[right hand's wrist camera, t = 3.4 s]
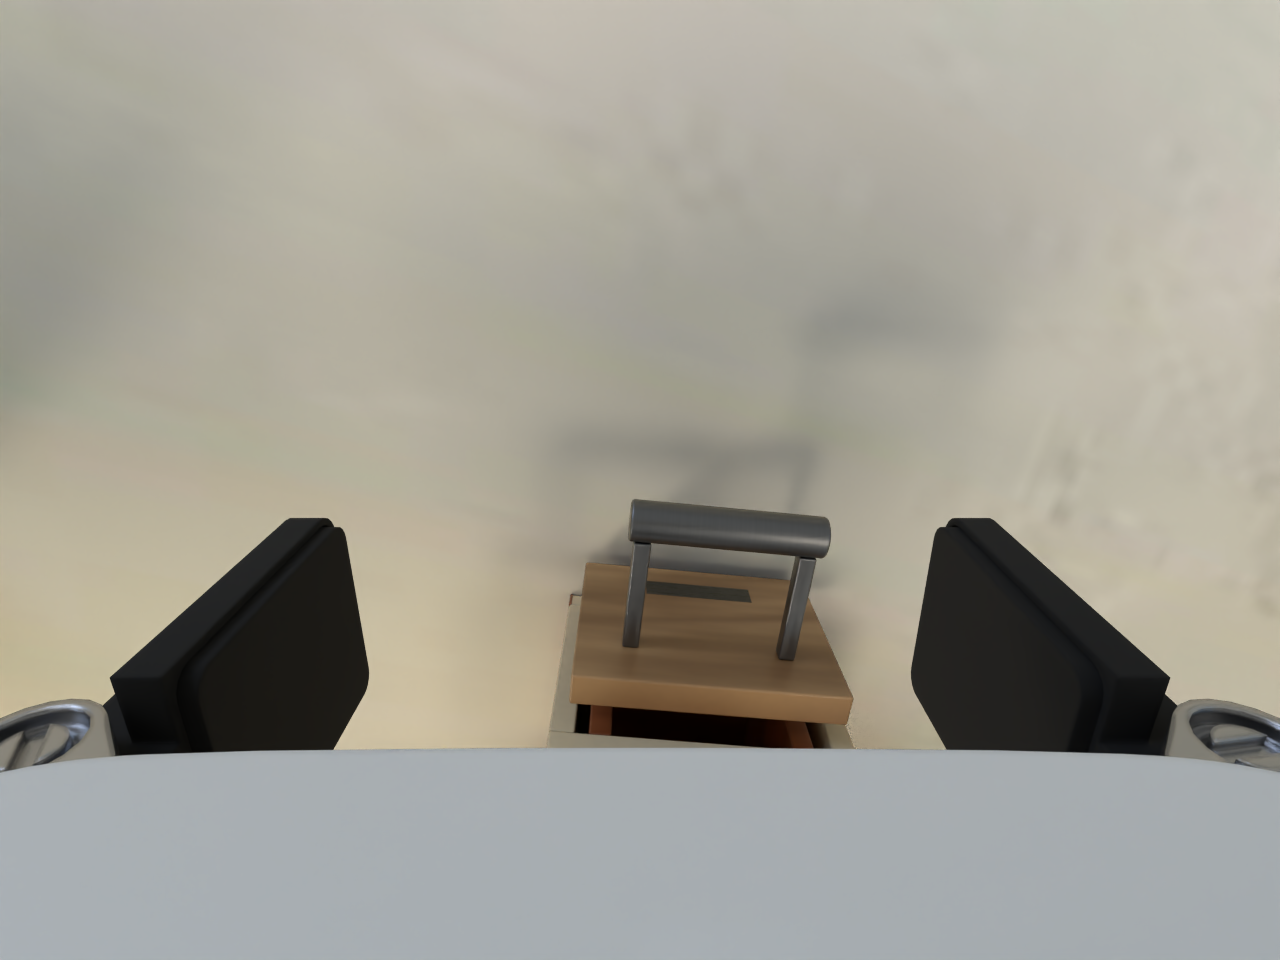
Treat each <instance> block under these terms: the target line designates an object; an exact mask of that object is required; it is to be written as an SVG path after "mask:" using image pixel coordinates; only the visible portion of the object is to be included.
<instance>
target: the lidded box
mask: <svg viewBox="0 0 1280 960" xmlns="http://www.w3.org/2000/svg"><path fill="white" fill-rule="evenodd" d="M581 598H582V596H574V595H572V594H571V595H570V602H569V610H568V616H567V622H566V628H565V634H564V641H563V647H562V653H561V659H560V665H559V672H558V678H557V684H556V690H555V696H554V703H553V709H552V715H551V721H550V727H549V734H548V740H547V746H546V748H761V747H749V746H736V745H723V744H710V743H697V742H684V741H671V740H658V739H645V738H632V737H619V736H606V735H593V734H587V733H588V722H589V712H590V705H585V704H572V703H570V702H569V695H570V683H571V673H572V665H573V658H574V650H575V643H576V635H577V628H578V620H579V613H580V605H581ZM805 724H806V727H807V730H808V733H809V736H810V739H811V742H812V745H813V748H814V749H855V748H854V746H853V744H852V741H851V739H850V736H849V734H848V731H847V729H846V726H845V725H838V724H825V723H813V722H805Z"/></svg>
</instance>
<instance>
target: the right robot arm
mask: <svg viewBox="0 0 1280 960" xmlns="http://www.w3.org/2000/svg"><path fill="white" fill-rule="evenodd" d="M110 680H111V683H112V686H113V689H114V692H115V695H114V696H113V697H111V698H110V699H109V700H108V701H107V702H106V703H105V704H104V705H103V706H102V705H101V704H98V703H96V702H93V701H91V700H83V699H66V700H59V701H51V702H47V703H43V704H39V705H36V706H32V707H28V708H25V709H22V710H20V711H17V712H15V713H12V714H10V715H7V716H5V717H2V718H0V960H1280V718H1278V717H1275V716H1273V715H1270V714H1268V713H1265V712H1263V711H1260V710H1258V709H1255V708H1252V707H1248V706H1244V705H1241V704H1237V703H1233V702H1229V701H1221V700H1214V699H1197V700H1189V701H1187V702H1184V703H1182V704H1179V705H1178V706H1177V705H1176V704H1175V703H1174V702H1173V701H1172V700H1171V699H1170V698H1169V697H1167V696H1166V695H1165V692H1166V689H1167V686H1168V683H1169V680H1170V677H1169V676H1168V675H1167V674H1166V673H1164V672H1163V671H1162V670H1161V669H1160V668H1159V667H1158V666H1157V665H1155V664H1154V663H1153V662H1152V661H1151V660H1150V659H1149V658H1148V657H1146V656H1145V655H1144V654H1143V653H1142V652H1141V651H1140V650H1139V649H1138V648H1136V647H1135V646H1134V645H1133V644H1132V643H1131V642H1130V641H1129V640H1127V639H1126V638H1125V637H1124V636H1123V635H1122V634H1121V633H1120V632H1118V631H1117V630H1116V629H1115V628H1114V627H1113V626H1112V625H1111V624H1110V623H1108V622H1107V621H1106V620H1105V619H1104V618H1103V617H1102V616H1101V615H1099V614H1098V613H1097V612H1096V611H1095V610H1094V609H1093V608H1092V607H1091V606H1089V605H1088V604H1087V603H1086V602H1085V601H1084V600H1083V599H1082V598H1080V597H1079V596H1078V595H1077V594H1076V593H1075V592H1074V591H1073V590H1071V589H1070V588H1069V587H1068V586H1067V585H1066V584H1065V583H1064V582H1063V581H1061V580H1060V579H1059V578H1058V577H1057V576H1056V575H1055V574H1054V573H1052V572H1051V571H1050V570H1049V569H1048V568H1047V567H1046V566H1045V565H1043V564H1042V563H1041V562H1040V561H1039V560H1038V559H1037V558H1036V557H1035V556H1033V555H1032V554H1031V553H1030V552H1029V551H1028V550H1027V549H1026V548H1024V547H1023V546H1022V545H1021V544H1020V543H1019V542H1018V541H1017V540H1015V539H1014V538H1013V537H1012V536H1011V535H1010V534H1009V533H1008V532H1007V531H1005V530H1004V529H1003V528H1002V527H1001V526H1000V525H999V524H998V523H996V522H995V521H994V520H992V519H991V518H952V519H951V520H950V521H949V522H948V524H947V525H946V527H940V528H938V529H937V531H936V533H935V536H934V541H933V547H932V553H931V558H930V564H929V570H928V576H927V581H926V587H925V593H924V598H923V604H922V610H921V616H920V621H919V627H918V633H917V639H916V644H915V650H914V656H913V662H912V667H911V680H912V686H913V689H914V692H915V694H916V696H917V698H918V699H919V701H920V703H921V705H922V706H923V708H924V710H925V712H926V714H927V715H928V717H929V719H930V721H931V722H932V724H933V726H934V728H935V730H936V731H937V733H938V735H939V737H940V738H941V740H942V742H943V744H944V746H945V747H946V749H947V750H903V749H789V748H468V749H378V750H333V749H334V747H335V746H336V744H337V742H338V740H339V738H340V737H341V735H342V733H343V731H344V730H345V728H346V726H347V724H348V722H349V721H350V719H351V717H352V715H353V714H354V712H355V710H356V708H357V706H358V705H359V703H360V701H361V699H362V698H363V696H364V694H365V692H366V689H367V686H368V680H369V667H368V662H367V656H366V650H365V644H364V639H363V633H362V627H361V621H360V616H359V610H358V604H357V598H356V593H355V587H354V581H353V576H352V570H351V564H350V558H349V553H348V547H347V541H346V536H345V533H344V531H343V529H342V528H340V527H334V525H333V524H332V522H331V521H330V520H329V519H328V518H289V519H288V520H286V521H285V522H284V523H282V524H281V525H280V526H279V527H278V528H277V529H276V530H275V531H273V532H272V533H271V534H270V535H269V536H268V537H267V538H266V539H265V540H263V541H262V542H261V543H260V544H259V545H258V546H257V547H256V548H254V549H253V550H252V551H251V552H250V553H249V554H248V555H247V556H245V557H244V558H243V559H242V560H241V561H240V562H239V563H238V564H237V565H235V566H234V567H233V568H232V569H231V570H230V571H229V572H228V573H226V574H225V575H224V576H223V577H222V578H221V579H220V580H219V581H217V582H216V583H215V584H214V585H213V586H212V587H211V588H210V589H209V590H207V591H206V592H205V593H204V594H203V595H202V596H201V597H200V598H198V599H197V600H196V601H195V602H194V603H193V604H192V605H191V606H189V607H188V608H187V609H186V610H185V611H184V612H183V613H182V614H181V615H179V616H178V617H177V618H176V619H175V620H174V621H173V622H172V623H170V624H169V625H168V626H167V627H166V628H165V629H164V630H163V631H161V632H160V633H159V634H158V635H157V636H156V637H155V638H154V639H153V640H151V641H150V642H149V643H148V644H147V645H146V646H145V647H144V648H142V649H141V650H140V651H139V652H138V653H137V654H136V655H135V656H134V657H132V658H131V659H130V660H129V661H128V662H127V663H126V664H125V665H123V666H122V667H121V668H120V669H119V670H118V671H117V672H116V673H114V674H113V675H112V676H111V677H110Z"/></svg>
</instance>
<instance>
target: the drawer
mask: <svg viewBox="0 0 1280 960" xmlns="http://www.w3.org/2000/svg"><path fill="white" fill-rule="evenodd" d="M628 539H629V540H630V541H633V548H632V556H631V565H630V566H622V565H611V564H599V563H586V568H585V575H584V583H583V590H582V598H581V605H580V613H579V620H578V628H577V635H576V643H575V650H574V658H573V665H572V673H571V683H570V695H569V702H570V703H572V704H585V705H590V712H589V722H588V733H587V734H593V735H606V736H619V737H632V738H645V739H658V740H671V741H684V742H697V743H710V744H723V745H736V746H749V747H761V748H789V749H814V748H813V745H812V742H811V739H810V736H809V733H808V730H807V727H806V724H805V722H813V723H825V724H838V725H846V724H847V721H848V717H849V713H850V710H851V706H852V702H853V696H852V694H851V692H850V689H849V687H848V685H847V683H846V680H845V678H844V676H843V674H842V671H841V669H840V667H839V665H838V663H837V660H836V658H835V656H834V654H833V651H832V649H831V647H830V645H829V642H828V640H827V638H826V636H825V633H824V631H823V629H822V627H821V625H820V622H819V620H818V618H817V616H816V613H815V611H814V609H813V607H812V604H811V602H810V600H809V598H808V596H809V591H810V587H811V582H812V578H813V573H814V569H815V565H816V558H824V557H825V556H826V555H827V553H828V550H829V547H830V541H831V528H830V523H829V520H828V519H827V518H826V517H820V516H809V515H799V514H788V513H777V512H766V511H756V510H745V509H734V508H723V507H713V506H702V505H691V504H680V503H670V502H659V501H648V500H637V499H634V500H632V502H631V509H630V518H629V530H628ZM651 543H657V544H668V545H679V546H690V547H701V548H712V549H723V550H734V551H745V552H756V553H767V554H778V555H790V556H795V561H794V566H793V571H792V575H791V580H780V579H769V578H757V577H746V576H735V575H723V574H712V573H701V572H690V571H678V570H667V569H656V568H648V567H649V559H650V551H651Z"/></svg>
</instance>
